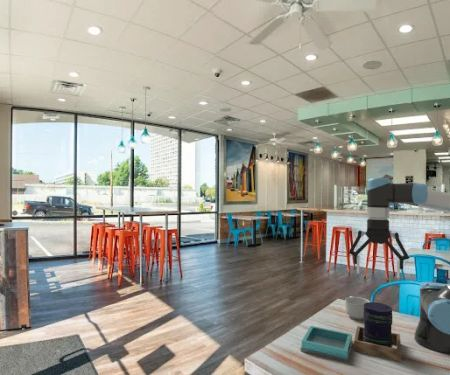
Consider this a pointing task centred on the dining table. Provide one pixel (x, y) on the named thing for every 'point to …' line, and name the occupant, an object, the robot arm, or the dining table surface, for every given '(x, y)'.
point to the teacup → (355, 307)
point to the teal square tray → (327, 343)
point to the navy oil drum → (377, 324)
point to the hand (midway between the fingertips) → (377, 275)
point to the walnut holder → (378, 346)
